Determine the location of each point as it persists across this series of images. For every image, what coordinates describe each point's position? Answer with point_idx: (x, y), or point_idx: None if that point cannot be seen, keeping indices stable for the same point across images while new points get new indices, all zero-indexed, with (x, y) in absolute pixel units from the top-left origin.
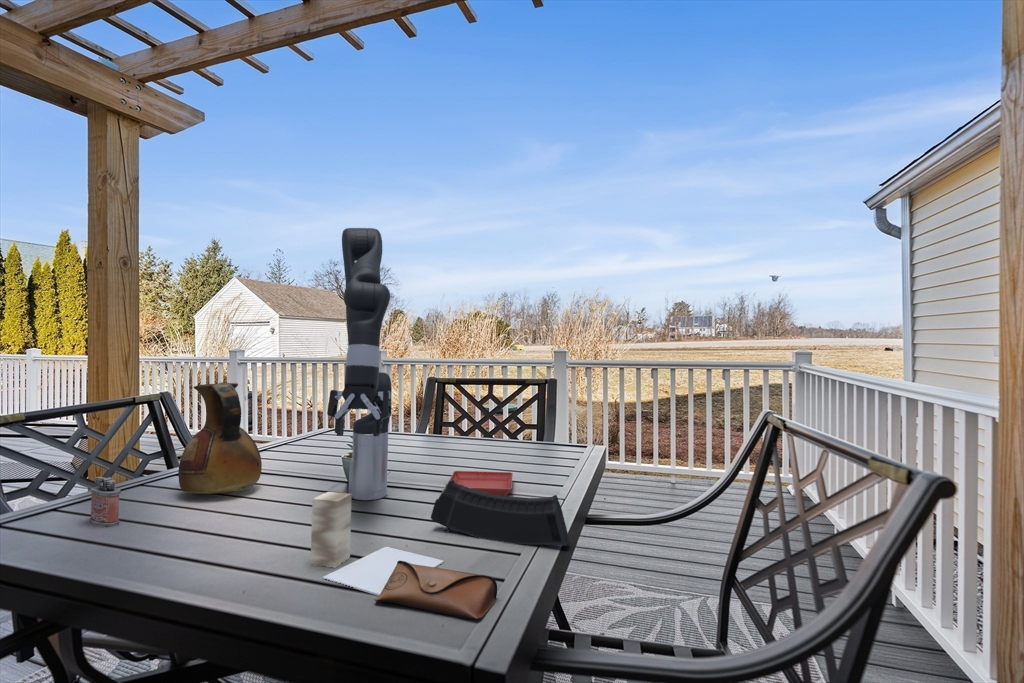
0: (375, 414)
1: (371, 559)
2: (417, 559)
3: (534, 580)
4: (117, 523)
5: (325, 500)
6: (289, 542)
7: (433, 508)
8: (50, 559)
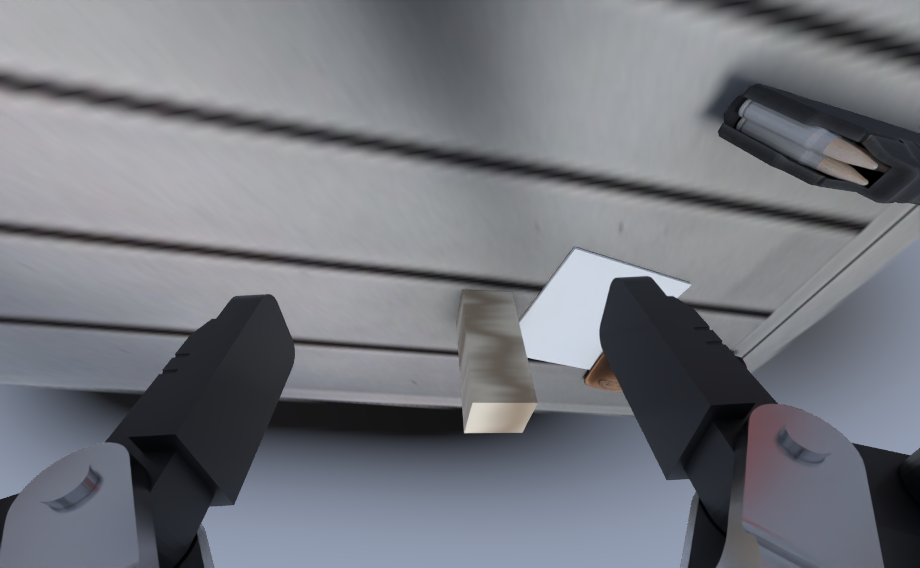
0: (718, 561)
1: (556, 300)
2: None
3: (818, 309)
4: None
5: (495, 432)
6: (347, 254)
7: (746, 149)
8: (23, 368)
